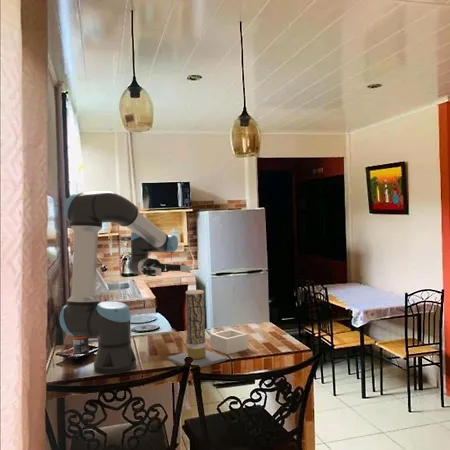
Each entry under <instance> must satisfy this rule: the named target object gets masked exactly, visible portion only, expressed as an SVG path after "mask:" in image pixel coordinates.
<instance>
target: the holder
mask: <svg viewBox="0 0 450 450" xmlns="http://www.w3.org/2000/svg"><path fill="white" fill-rule="evenodd" d="M209 336H210V337H209V339H210V349H212V350H214V351H216V350H217V352H219V351H220V353H222V354H224V353H225V355H231V354H234V353H238V352H242V351H246V350H248V349H249V334H248V333H245V332H242V331H240V330H236V329H232V328H229V329H226V330H225V329H224V330H221V331H218V332H213V333H212V332H211V333H210V334H209ZM230 353H231V354H230Z"/></svg>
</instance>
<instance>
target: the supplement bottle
mask: <svg viewBox="0 0 450 450" xmlns="http://www.w3.org/2000/svg"><path fill="white" fill-rule="evenodd" d="M72 347H73V348H72V349H73V354H74V353H75V354H87V356H88V354H89V355H90V342H89V337H81V336H80V337H76V336H73V335H72Z"/></svg>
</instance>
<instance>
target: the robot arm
mask: <svg viewBox="0 0 450 450" xmlns="http://www.w3.org/2000/svg"><path fill="white" fill-rule="evenodd" d="M63 207H64V208H63V210H64V211H63V213H64V217H65V219H66V220H67V222H69V223H70V226H69V227H70V228H71V229H72V230H73V232H74V233H73V235H74V236H73V255H72V256H73V259H72V277H71V278H72V281H71V282H72V283H71V295H70V296H69V298H68V299H67V302H66V304H65V305H63V307H62V309H61V311H60V312H59V313H60V314H59V325H60V327H61V329H62V331H63V332H64V333H65V334H66V335H68V336H72V337H73V336H76V337H80V336H81V337H88V338H95V339H97V344H98V345H97V351H96V355H95V358H94V362H93V371H94V372H95V373H97V374H101V375H118V374H123V373H127V372H130V371H132V370H134V369H136V368H137V364H138V363H137V357H136V355H135V353H134V350H133V347H132V336H131V333H132V332H131V331H132V330H131V320H132V319H131V318H132V317H131V312H130V310H131V309H130V307H129V306H128V305H127V304H126V303H124V302H120V301H110V300H109V301H101V302H100V298H98V297H97V294H96V293H97V270H98V268H97V266H98V243H99V242H98V237H99V231H101V230H102V229H103V223H111V224H112V223H113V224H114V223H115V224H118V225H119V226H120V227H125V228H128V229H129V230H130V231H131V233H130V250H131V251H130V252H131V253H130V258H129V259H128V261H127V268H128V271H130V272H131V273H133V274H136V275H144V276H146V277H156V276H158V277H159V276H160V277H161V276H162V273H168V272H181V273H187V274H188V273H190V274H191V265H187V264H186V263H185V264H184V263H181V264H178V263H175V264H174V263H163V262H160V260H158V259H156V258H150V257H149V253H173V252H176V251H177V250H178V246H179V240H178V237H177V236H176V235H175V234H167V233H165V232H164V231H163V230H162V229H160V228H159V227H158V226H157V225H156V224H154V223H153V222H152V221H150V219H148V218H147V217H146V216H144V215H143V214H142V213H141V212H139V209H138V206H137V205H136V204H134V203H133V202H132V201H130V200H129V199H127V198H126V197H124V196H122V195H120V194H118V193H115V192H112V191H107V190H106V191H105V190H104V191H82V192H75V193H72V194H71V195H70V196H69V197H68V198H67V199H66V201H65V203H64V206H63Z"/></svg>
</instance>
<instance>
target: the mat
mask: <svg viewBox="0 0 450 450" xmlns="http://www.w3.org/2000/svg"><path fill="white" fill-rule="evenodd" d="M205 351H206V356H205V357H204V358H202V359H193V363H192V365H199V366H200V368H203V367H204V368H205V367H208V366H211V365H215V364H218V363H221V362H226V361H227V360H228V358H227V357H225V356H223V355H220V354H217V353H215V352H212V351H210V350H207V349H205ZM186 357H188V351H187V352H181V353H177V354H175V355H170V356H167V360H168V361H170V362H172V363H174V364H176V365H179V366H180V367H183V366H182V365H184V359H185V358H186Z"/></svg>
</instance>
